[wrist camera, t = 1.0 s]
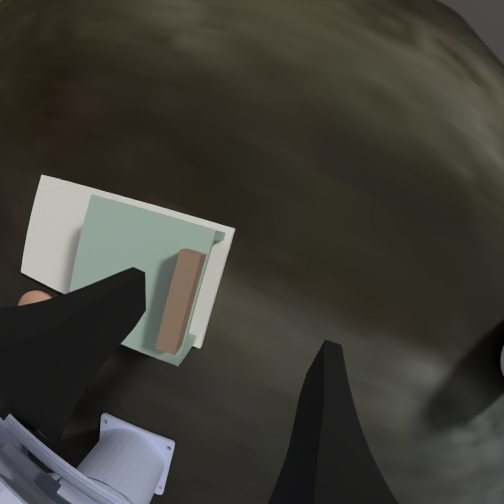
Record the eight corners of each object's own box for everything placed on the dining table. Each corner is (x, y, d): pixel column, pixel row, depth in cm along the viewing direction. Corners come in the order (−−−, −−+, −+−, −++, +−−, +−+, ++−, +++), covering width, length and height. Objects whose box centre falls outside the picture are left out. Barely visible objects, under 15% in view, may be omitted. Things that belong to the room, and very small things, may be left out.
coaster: (65, 366, 25) (61, 369, 24) (20, 339, 25) (15, 341, 25) (72, 304, 25) (67, 306, 24) (24, 280, 25) (19, 281, 24)
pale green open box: (194, 342, 24) (170, 377, 17) (98, 305, 24) (51, 323, 17) (225, 232, 23) (210, 228, 16) (122, 202, 23) (77, 190, 16)
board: (201, 345, 25) (199, 348, 24) (25, 271, 25) (20, 272, 24) (235, 229, 24) (234, 228, 23) (46, 176, 25) (41, 174, 24)
